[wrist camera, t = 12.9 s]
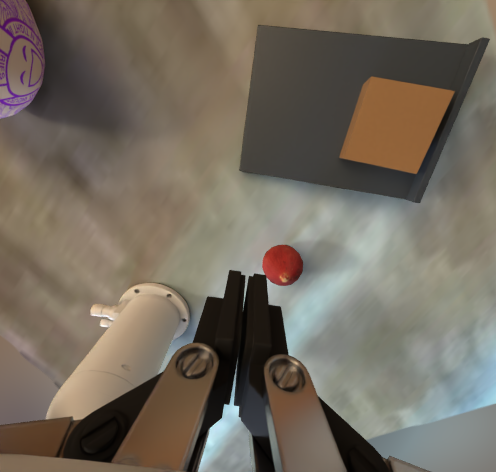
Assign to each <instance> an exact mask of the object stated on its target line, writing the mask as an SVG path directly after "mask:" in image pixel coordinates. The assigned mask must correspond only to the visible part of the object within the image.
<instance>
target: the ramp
mask: <svg viewBox="0 0 496 472" xmlns="http://www.w3.org/2000/svg"><path fill="white" fill-rule="evenodd" d="M489 40H490V39H488V38H480V39H478V40H476V41H474V42H472V43H469V45H468V44H457V43H446V42H436V41H425V40H414V39H404V38H393V37H382V36H371V35H361V34H350V33H339V32H329V31H318V30H307V29H297V28H286V27H275V26H264V25H258V29H257V36H256V44H255V52H254V60H253V68H252V75H251V83H250V91H249V99H248V107H247V114H246V122H245V130H244V138H243V146H242V154H241V161H240V169H239V170H240V171H245V172H251V173H256V174H262V175H268V176H274V177H280V178H285V179H291V180H297V181H303V182H309V183H314V184H320V185H326V186H332V187H337V188H343V189H349V190H355V191H361V192H366V193H372V194H378V195H384V196H390V197H395V198H401V199H406V200H409V201H412V202H415V203H420V201H421V199H422V197H423V194H424V192H425V190H426V187H427V185H428V183H429V180H430V178H431V176H432V173H433V171H434V169H435V166H436V164H437V161H438V159H439V157H440V154H441V152H442V150H443V147H444V145H445V143H446V140H447V138H448V136H449V133H450V131H451V129H452V126H453V124H454V122H455V119H456V117H457V115H458V112H459V110H460V108H461V105H462V103H463V101H464V98H465V96H466V94H467V91H468V89H469V87H470V84H471V82H472V80H473V77H474V75H475V73H476V70H477V68H478V66H479V63H480V61H481V59H482V56H483V54H484V52H485V49H486V47H487V45H488V42H489ZM370 77H378V78H383V79H389V80H395V81H400V82H406V83H412V84H418V85H423V86H429V87H435V88H440V89H446V90H452V91H455V92H454V94H453V96H452V99H451V101H450V103H449V105H448V107H447V109H446V112H445V114H444V116H443V118H442V120H441V122H440V125H439V127H438V129H437V131H436V133H435V135H434V138H433V140H432V142H431V144H430V146H429V148H428V151H427V153H426V155H425V157H424V159H423V161H422V164H421V166H420V168H419V170H418V172H417V174H414V173H409V172H404V171H399V170H394V169H390V168H385V167H380V166H376V165H371V164H366V163H362V162H357V161H352V160H348V159H343V158H339V156H340V153H341V150H342V147H343V144H344V141H345V138H346V135H347V132H348V129H349V126H350V123H351V120H352V117H353V114H354V111H355V108H356V105H357V102H358V99H359V96H360V93H361V89H362V86H363V84H364V83H365V82H366V81H367V80H368V79H369V78H370Z"/></svg>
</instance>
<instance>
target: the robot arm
mask: <svg viewBox="0 0 496 472" xmlns="http://www.w3.org/2000/svg"><path fill="white" fill-rule="evenodd" d="M244 288H245V275H241V272H240V271H233V270H229V275H228V280H227V285H226V290H225V294H224V299H223V298H216V297H207V299H206V302H205V306H204V309H203V312H202V315H201V318H200V321H199V325H198V328H197V331H196V334H195V337H194V340H193V343H190V344H187V345H185V346H183V347H181V348H180V349H178V350H177V351H176V352H175V354H174V355H173V356H172V358H171V360H170V361H169V363H168V365H167V367H166V368H165V370H164V372H162V373H160V374H158V372H159V370H160V368H161V365H162V363H163V361H164V358H165V356H166V354H167V351H168V349H169V346H170V344H171V342H172V340H174V339H176V338H178V337H179V336H181V335H182V334H183V333H184V332H185V330H186V328H187V326H188V323H189V319H190V312H189V308H188V305H187V303H186V302H185V300H184V299H183V298H182V297H181V295H179V294H178V293H177V292H176V291H174V290H173V289H171V288H169V287H167V286H164V285H161V284H157V283H141V284H138V285H135V286H133V287H131V288H130V289H129V290H127V291H126V292H125V294H124V295H123V296H122V297H121V299H120V301H119V305H113V306H107V305H103V304H94V305H93V306H92V308H91V311H90V314H91V315H93V316H101V317H103V316H106V317H109V319H108V318H103V319H102V320H101V322H100V326H104V327H109V328H108V329H107V331H106V332H105V333H104V334H103V336H102V337H101V338H100V339H99V341H98V342H97V343H96V344H95V346H94V347H93V348H92V349H91V351H90V352H89V353H88V355H87V356H86V357H85V358H84V360H83V361H82V362H81V363H80V365H79V366H78V367H77V368H76V370H75V371H74V372H73V373H72V375H71V376H70V377H69V378H68V379H67V381H66V382H65V383H64V384H63V386H62V387H61V388H60V389H59V391H58V392H57V394H56V395H55V397H54V399H53V400H52V402H51V405H50V407H49V410H48V412H47V416H46V420H38V421H30V422H21V423H13V424H5V425H0V472H198V469H199V465H200V462H201V458H202V455H203V452H204V448H205V445H206V442H207V438H208V435H209V429H210V427H212V426H213V425H214V424H215V423H216V422H217V421H219V420H220V419H221V418H222V414H223V408H224V404H227V405H229V403H230V398H231V392H232V387H233V381H234V375H235V370H236V364H237V373H236V385H235V397H234V405H235V406H239V417H241V421H242V422H243V423H244V425H245V426H246V427H247V429H248V430H249V447H250V457H251V467H252V472H430V471H427V470H425V469H422V468H420V467H417V466H415V465H412V464H410V463H407V462H404V461H402V460H399V459H397V458H394V457H392V456H389V457H388V459H385V458H383V457H382V456H381V455H380V454H379V453H378V452H377V451H376V450H375V448H374V447H373V446H371V445H370V444H369V443H368V442H367V441H366V440H365V439H364V438H363V437H362V436H361V435H360V434H359V433H358V432H356V431H355V430H354V429H353V428H352V427H351V426H350V425H349V424H348V423H347V422H346V421H344V420H343V419H342V418H341V417H340V416H339V415H338V414H337V413H336V412H335V411H334V410H333V409H331V408H330V407H329V406H328V405H327V404H326V403H325V402H324V401H323V400H322V399H321V398H320V397H318V396H317V393H316V390H315V388H314V385H313V383H312V380H311V377H310V375H309V373H308V371H307V369H306V367H305V366H304V365H303V364H302V363H301V362H300V361H299V360H297V359H296V358H294V357H292V356H289V355H288V349H287V343H286V336H285V330H284V323H283V317H282V311H281V307H280V306H273V305H269V304H268V292H267V280H266V275H261V274H254V276H253V277H252V276H249V279H248V285H247V291H246V297H245V302H244ZM243 302H244V308H243ZM237 358H238V361H237Z"/></svg>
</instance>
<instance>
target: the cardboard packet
mask: <svg viewBox="0 0 496 472" xmlns="http://www.w3.org/2000/svg"><path fill="white" fill-rule="evenodd" d="M454 92H455V91H452V90H446V89H440V88H435V87H429V86H423V85H418V84H412V83H406V82H400V81H395V80H389V79H383V78H378V77H370V78H369V79H368V80H367V81H366V82H365V83H364V84H363V86H362V89H361V93H360V96H359V99H358V102H357V105H356V108H355V111H354V114H353V117H352V120H351V123H350V126H349V129H348V132H347V135H346V138H345V141H344V144H343V147H342V150H341V153H340V156H339V158H343V159H348V160H352V161H357V162H362V163H366V164H371V165H376V166H380V167H385V168H390V169H394V170H399V171H404V172H409V173H414V174H417V172H418V170H419V168H420V166H421V164H422V161H423V159H424V157H425V155H426V153H427V151H428V148H429V146H430V144H431V142H432V140H433V138H434V135H435V133H436V131H437V129H438V127H439V125H440V122H441V120H442V118H443V116H444V114H445V112H446V109H447V107H448V105H449V103H450V101H451V99H452V96H453V94H454Z"/></svg>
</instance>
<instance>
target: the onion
mask: <svg viewBox="0 0 496 472" xmlns="http://www.w3.org/2000/svg"><path fill="white" fill-rule="evenodd" d="M262 267H263V271H264V273H265V275H266V277H267V278H268V279H269V280H270V281H271V282H272V283H274V284H277V285H280V286H287V285H291V284H293V283H294V282H295V281H297V280H298V279H299V277H300V275H301V274H302V271H303V261H302V259H301V256H300V254H299V253H298V252H297V251H296V250H295V249H294V248H292V247H290V246H287V245H277V246H275V247H272V248H271V249H270V250H268V251H267V252H266V254H265V256H264V258H263V266H262Z"/></svg>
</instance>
